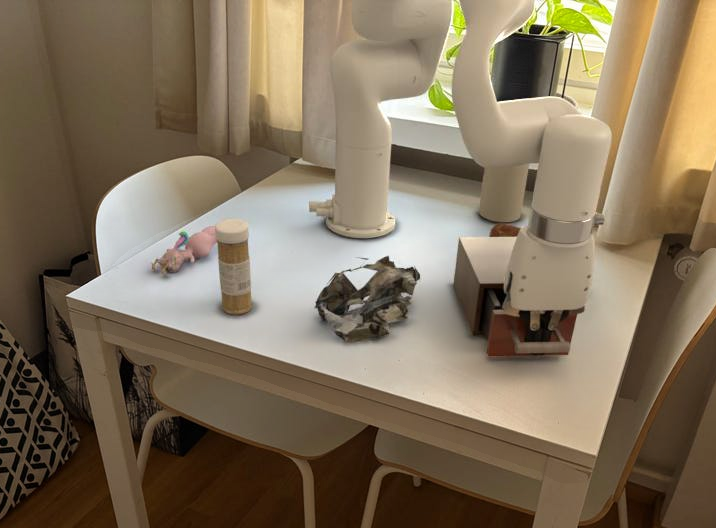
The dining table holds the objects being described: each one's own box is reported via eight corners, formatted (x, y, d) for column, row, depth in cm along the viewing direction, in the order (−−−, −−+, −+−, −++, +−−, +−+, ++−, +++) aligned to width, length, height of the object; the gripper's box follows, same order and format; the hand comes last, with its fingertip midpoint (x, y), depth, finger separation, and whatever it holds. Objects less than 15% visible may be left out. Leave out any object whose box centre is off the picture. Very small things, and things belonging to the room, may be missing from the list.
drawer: (579, 375, 102) (590, 332, 98) (496, 378, 100) (503, 334, 96) (540, 305, 117) (548, 265, 113) (467, 306, 115) (472, 266, 111)
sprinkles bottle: (244, 297, 116) (239, 214, 108) (258, 311, 113) (254, 227, 105) (216, 305, 113) (208, 221, 106) (229, 319, 110) (223, 234, 103)
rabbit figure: (174, 288, 119) (242, 243, 128) (164, 256, 115) (235, 212, 124) (148, 275, 122) (216, 232, 131) (138, 244, 118) (209, 201, 127)
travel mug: (528, 215, 146) (544, 122, 136) (504, 227, 141) (519, 131, 131) (494, 203, 150) (507, 111, 140) (470, 214, 145) (482, 119, 135)
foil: (307, 279, 114) (394, 231, 111) (345, 333, 119) (429, 288, 116) (303, 317, 104) (399, 265, 101) (345, 373, 110) (437, 326, 106)
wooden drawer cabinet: (556, 334, 112) (567, 282, 107) (472, 335, 110) (479, 283, 105) (529, 285, 123) (538, 236, 119) (453, 286, 122) (458, 236, 117)
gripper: (608, 210, 96) (579, 333, 106) (492, 210, 94) (474, 336, 104) (631, 236, 89) (598, 364, 100) (507, 237, 88) (487, 367, 98)
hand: (535, 349), depth 102 cm, fingers closed
